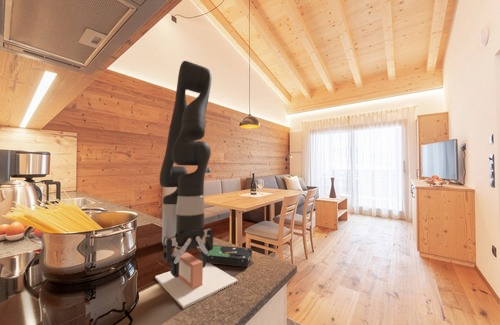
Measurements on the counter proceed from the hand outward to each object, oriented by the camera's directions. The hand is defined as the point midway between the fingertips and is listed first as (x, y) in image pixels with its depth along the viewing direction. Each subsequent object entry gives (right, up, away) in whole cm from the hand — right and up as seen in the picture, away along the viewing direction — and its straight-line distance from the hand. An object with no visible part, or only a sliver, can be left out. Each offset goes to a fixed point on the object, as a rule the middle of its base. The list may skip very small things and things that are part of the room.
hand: (189, 271), depth 56 cm
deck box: (0, -3, 0) cm, 3 cm away
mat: (+1, -3, +1) cm, 4 cm away
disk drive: (+10, -4, +15) cm, 18 cm away
